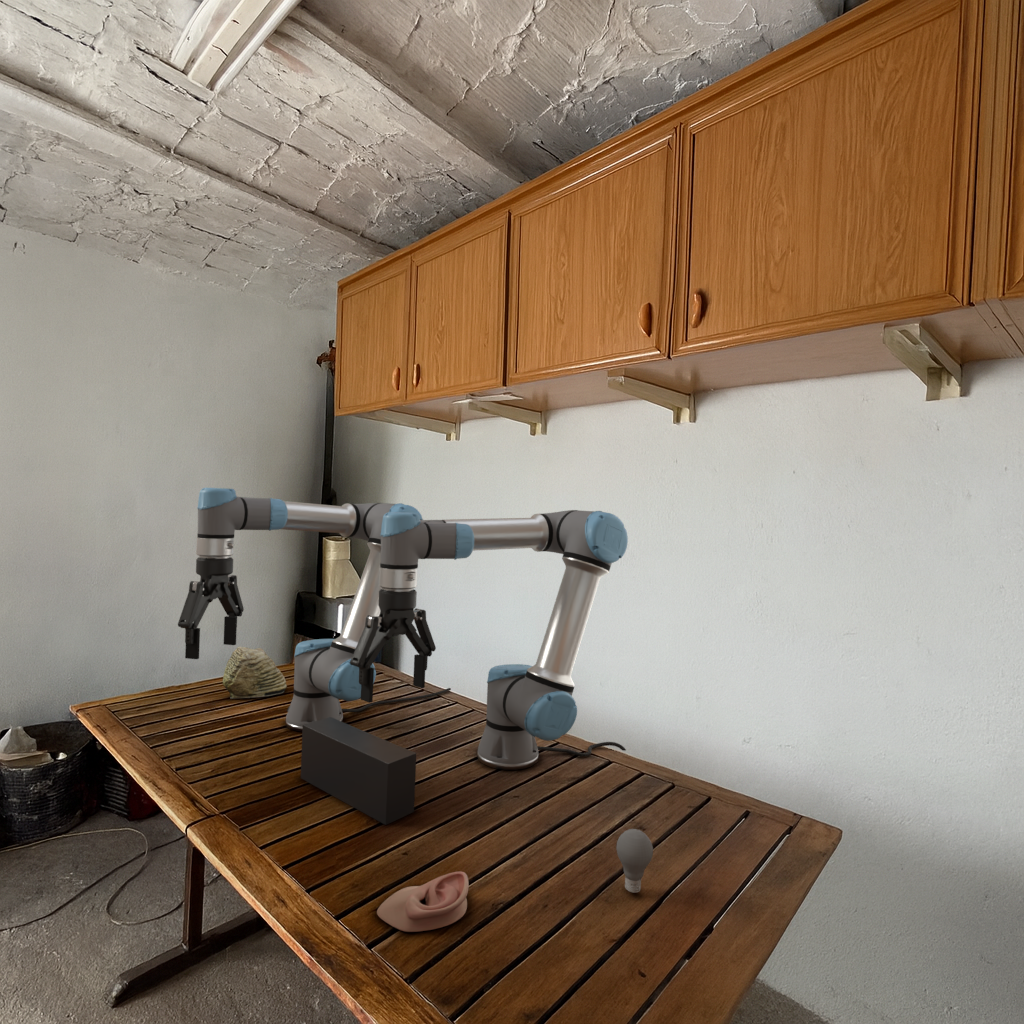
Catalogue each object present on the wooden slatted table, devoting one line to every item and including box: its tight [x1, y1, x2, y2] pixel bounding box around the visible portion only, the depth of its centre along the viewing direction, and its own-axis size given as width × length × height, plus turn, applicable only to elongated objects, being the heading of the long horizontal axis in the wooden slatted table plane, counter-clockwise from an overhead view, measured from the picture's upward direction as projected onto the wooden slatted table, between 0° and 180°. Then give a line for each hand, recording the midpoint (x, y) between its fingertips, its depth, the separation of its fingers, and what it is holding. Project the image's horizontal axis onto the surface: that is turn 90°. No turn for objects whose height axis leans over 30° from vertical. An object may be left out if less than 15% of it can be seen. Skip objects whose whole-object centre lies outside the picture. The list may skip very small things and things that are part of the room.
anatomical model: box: [376, 871, 470, 933], centre depth 99 cm, size 13×4×12 cm
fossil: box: [222, 646, 288, 699], centre depth 198 cm, size 9×18×15 cm, turn 132°
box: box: [300, 717, 417, 826], centre depth 135 cm, size 30×7×12 cm, turn 51°
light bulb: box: [615, 828, 654, 894], centre depth 106 cm, size 6×6×10 cm
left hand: (211, 651), depth 142 cm, fingers open, 13 cm apart
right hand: (393, 693), depth 128 cm, fingers open, 13 cm apart
